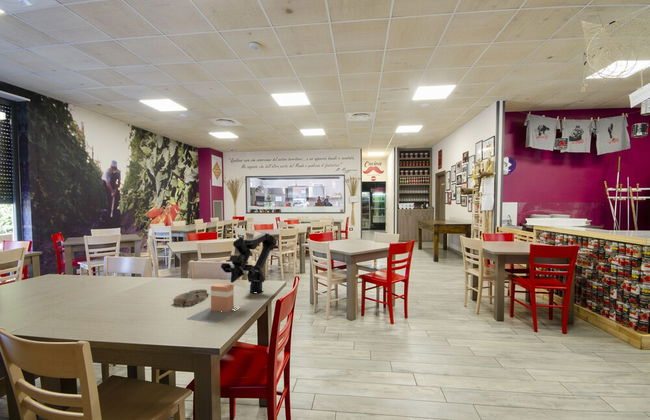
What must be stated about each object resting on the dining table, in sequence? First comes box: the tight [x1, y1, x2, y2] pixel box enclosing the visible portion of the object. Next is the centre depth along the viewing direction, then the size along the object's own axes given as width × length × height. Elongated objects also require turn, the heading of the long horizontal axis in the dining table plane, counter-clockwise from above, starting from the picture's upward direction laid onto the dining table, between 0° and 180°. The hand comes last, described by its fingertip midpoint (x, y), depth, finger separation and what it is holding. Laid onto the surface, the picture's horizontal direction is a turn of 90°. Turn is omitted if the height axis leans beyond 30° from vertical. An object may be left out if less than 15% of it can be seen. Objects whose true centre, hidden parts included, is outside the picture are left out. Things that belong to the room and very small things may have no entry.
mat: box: [186, 305, 242, 324], centre depth 139 cm, size 22×16×1 cm
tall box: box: [210, 283, 235, 312], centre depth 143 cm, size 5×10×12 cm, turn 74°
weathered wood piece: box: [172, 289, 210, 307], centre depth 160 cm, size 14×5×20 cm
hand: (231, 282), depth 151 cm, fingers closed
